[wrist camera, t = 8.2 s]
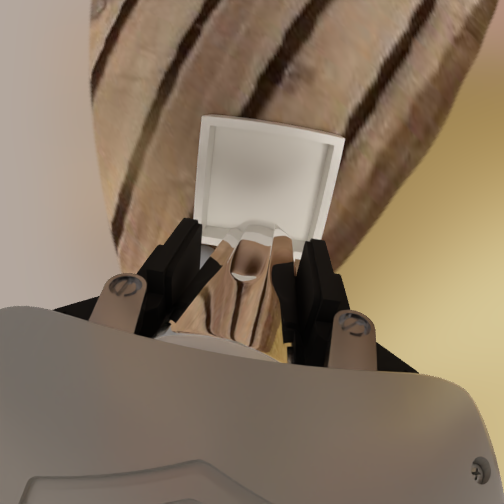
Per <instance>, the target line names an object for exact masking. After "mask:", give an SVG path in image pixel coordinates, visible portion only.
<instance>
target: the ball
mask: <svg viewBox="0 0 504 504" xmlns="http://www.w3.org/2000/svg"><path fill="white" fill-rule="evenodd" d="M213 251H214V249H213V248H212V247H210V246H207V245H201V258H200V269H201V267H202V266H203V265H204V263H205V262H206V261H207V259H208V258H209V257H210V255H211V254H212V253H213Z"/></svg>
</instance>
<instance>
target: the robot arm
mask: <svg viewBox="0 0 504 504" xmlns="http://www.w3.org/2000/svg"><path fill="white" fill-rule="evenodd" d="M201 241H202V224H199V223H198V220H196V219H190V218H183V220H182V221H181V222H180V224H179V225H178V226H177V228H176V229H175V230H174V232H173V233H172V234H171V236H170V237H169V238H168V240H167V241H166V242H165V244H164V245H158V246H157V247H156V248H155V250H154V251H153V252H152V254H151V255H150V256H149V258H148V259H147V260H146V262H145V263H144V264H143V266H142V267H141V268H140V270H139V271H138V273H137V274H132V273H123V274H118V275H116V276H113V277H112V278H110V279H109V280H108V281H107V282H106V284H105V286H104V288H103V290H102V292H101V294H100V296H98V297H94V298H91V299H88V300H84V301H81V302H77V303H74V304H71V305H67V306H64V307H60V308H57V309H54V310H48V309H44V308H38V307H30V306H13V307H7V308H3V309H0V504H504V493H503V487H502V482H501V477H500V473H499V468H498V464H497V460H496V456H495V452H494V449H493V446H492V443H491V440H490V437H489V434H488V431H487V428H486V425H485V423H484V420H483V418H482V416H481V414H480V412H479V410H478V407H477V406H476V404H475V402H474V400H473V399H472V397H471V396H470V395H469V393H468V392H467V391H466V390H465V389H464V388H462V387H460V386H459V385H457V384H455V383H453V382H450V381H447V380H445V379H442V378H439V377H434V376H430V375H425V374H419V373H418V372H417V371H416V370H415V369H413V368H412V367H410V366H409V365H408V364H406V363H405V362H403V361H402V360H401V359H399V358H398V357H396V356H395V355H394V354H392V353H391V352H390V351H388V350H387V349H385V348H384V347H382V346H381V345H380V344H378V343H377V342H376V334H375V327H374V324H373V322H372V321H371V320H370V319H369V318H368V317H367V316H365V315H364V314H362V313H360V312H357V311H353V310H350V307H349V303H348V300H347V296H346V292H345V288H344V285H343V282H342V278H341V276H340V274H335V273H334V272H333V269H332V265H331V261H330V257H329V254H328V250H327V246H326V243H325V241H324V240H318V239H313V238H311V240H310V242H309V241H305V244H304V248H303V252H302V256H301V260H300V264H299V268H298V272H297V275H296V280H297V294H298V308H299V320H300V325H301V331H302V338H303V347H304V356H305V365H297V364H288V363H280V362H273V361H265V360H258V359H252V358H245V357H239V356H233V355H227V354H222V353H216V352H211V351H206V350H201V349H196V348H191V347H186V346H182V345H177V344H173V343H168V342H164V341H160V340H156V339H152V338H148V336H149V335H150V333H151V332H152V331H153V329H154V328H155V327H156V326H157V324H158V323H159V322H160V321H161V319H162V318H163V317H164V315H165V314H166V313H167V312H168V310H169V309H170V308H171V307H172V305H173V304H174V303H175V302H176V300H177V299H178V298H179V297H180V295H181V294H182V293H183V291H184V290H185V289H186V288H187V286H188V285H189V284H190V282H191V281H192V280H193V278H194V277H195V275H196V274H197V273H198V271H199V270H200V258H201Z"/></svg>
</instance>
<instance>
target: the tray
mask: <svg viewBox="0 0 504 504" xmlns="http://www.w3.org/2000/svg"><path fill="white" fill-rule="evenodd" d="M344 142H345V138H343V137H341V136H340V135H338V134H334V133H330V132H325V131H321V130H316V129H311V128H306V127H301V126H295V125H290V124H284V123H278V122H272V121H266V120H259V119H251V118H244V117H236V116H227V115H217V114H208V115H203V116H202V120H201V129H200V139H199V150H198V161H197V174H196V187H195V202H194V219H196V220H198V223H199V224H202V241H201V243H203V244H209V245H215V246H218V245H219V243H220V242H221V241H222V240H223V238H224V237H225V236H226V234H227V233H228V232H229V230H230V229H231V228H232V227H234V226H237V225H239V224H241V223H243V222H245V221H247V220H250V219H252V218H253V219H258V220H264V221H269V222H275V223H276V224H277V225H278V226H279V227H280V228H281V229H282V230H283V231H284V232H285V233H287V234H288V235H289V236H290V237H291V238H292V244H293V251H294V258H295V259H300V260H301V256H302V252H303V248H304V244H305V241H309V242H310V240H311V238H313V239H318V240H321V238H322V234H323V231H324V227H325V223H326V219H327V215H328V211H329V207H330V203H331V199H332V195H333V191H334V187H335V182H336V178H337V174H338V169H339V165H340V161H341V156H342V151H343V147H344Z"/></svg>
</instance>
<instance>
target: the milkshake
mask: <svg viewBox="0 0 504 504" xmlns="http://www.w3.org/2000/svg"><path fill="white" fill-rule="evenodd" d="M148 338H152V339H156V340H160V341H164V342H168V343H173V344H177V345H182V346H186V347H191V348H196V349H201V350H206V351H211V352H216V353H222V354H227V355H233V356H239V357H245V358H252V359H258V360H265V361H273V362H280V363H288V364H297V365H305V356H304V347H303V338H302V331H301V325H300V320H299V308H298V294H297V280H296V268H295V258H294V251H293V244H292V238H291V237H290V236H289V235H288V234H287V233H285V232H284V231H283V230H282V229H281V228H280V227H279V226H278V225H277V224H276V223H275V222H269V221H264V220H258V219H253V218H252V219H250V220H247V221H245V222H243V223H241V224H239V225H237V226H234V227H232V228H231V229H230V230H229V232H228V233H227V234H226V236H225V237H224V238H223V240H222V241H221V242H220V243H219V245H218V246H217V247H216V249H215V250H214V251H213V253H212V254H211V255H210V257H209V258H208V259H207V261H206V262H205V263H204V265H203V266H202V267H201V269H200V270H199V271H198V273H197V274H196V275H195V277H194V278H193V280H192V281H191V282H190V284H189V285H188V286H187V288H186V289H185V290H184V291H183V293H182V294H181V295H180V297H179V298H178V299H177V300H176V302H175V303H174V304H173V305H172V307H171V308H170V309H169V310H168V312H167V313H166V314H165V315H164V317H163V318H162V319H161V321H160V322H159V323H158V324H157V326H156V327H155V328H154V329H153V331H152V332H151V333H150V335H149V336H148Z"/></svg>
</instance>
